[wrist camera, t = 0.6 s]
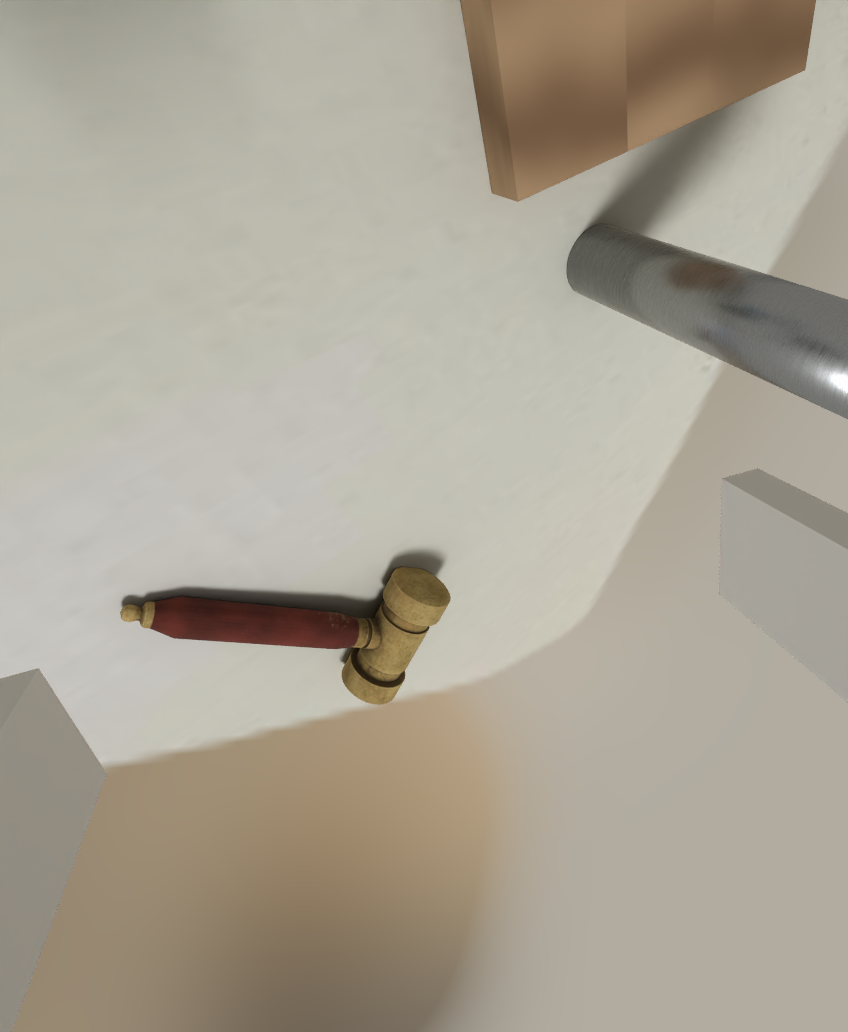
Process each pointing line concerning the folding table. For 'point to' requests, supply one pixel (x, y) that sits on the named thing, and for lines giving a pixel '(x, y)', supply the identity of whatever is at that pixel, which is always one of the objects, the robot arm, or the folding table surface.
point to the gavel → (318, 628)
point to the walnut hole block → (615, 75)
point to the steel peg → (721, 310)
